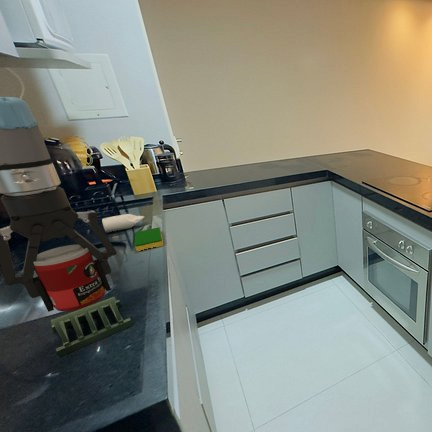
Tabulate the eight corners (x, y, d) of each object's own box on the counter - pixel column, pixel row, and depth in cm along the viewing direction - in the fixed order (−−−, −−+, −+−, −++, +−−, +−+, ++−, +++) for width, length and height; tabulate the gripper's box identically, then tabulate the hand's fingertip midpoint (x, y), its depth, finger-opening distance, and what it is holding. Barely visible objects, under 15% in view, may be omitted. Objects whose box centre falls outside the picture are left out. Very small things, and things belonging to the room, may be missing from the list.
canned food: (89, 310, 57) (67, 260, 54) (42, 315, 56) (16, 264, 52) (116, 287, 65) (98, 242, 61) (74, 291, 63) (53, 245, 59)
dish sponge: (161, 232, 109) (159, 226, 108) (163, 245, 99) (161, 239, 98) (136, 238, 105) (134, 231, 104) (136, 252, 95) (134, 245, 94)
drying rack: (59, 357, 55) (42, 324, 52) (53, 330, 62) (38, 300, 59) (132, 325, 63) (121, 295, 60) (120, 304, 70) (110, 277, 67)
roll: (147, 227, 114) (142, 213, 112) (106, 234, 108) (101, 220, 106) (147, 222, 119) (143, 209, 117) (108, 229, 112) (102, 216, 110)
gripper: (-74, 209, 42) (1, 334, 51) (112, 181, 57) (147, 282, 65) (-66, 200, 47) (1, 316, 55) (104, 176, 62) (137, 270, 70)
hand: (80, 297), depth 60 cm, fingers closed on canned food, 8 cm apart
